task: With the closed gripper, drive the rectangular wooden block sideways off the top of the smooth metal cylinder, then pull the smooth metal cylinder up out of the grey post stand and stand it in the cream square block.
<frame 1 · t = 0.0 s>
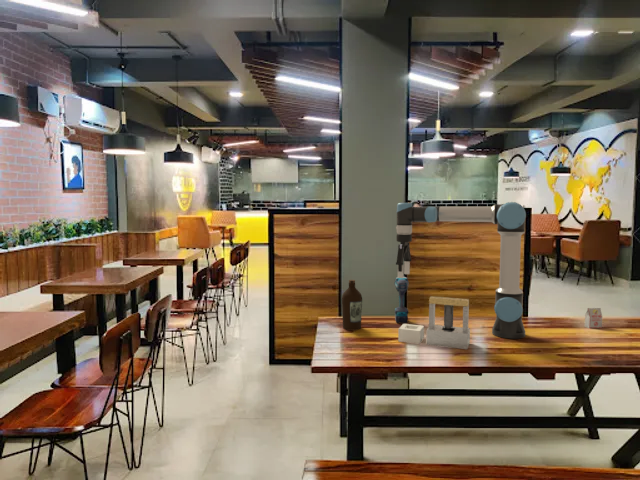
hand: (403, 276, 235), 28 cm above the table, tool pointing down, fingers open, 13 cm apart
olive oil: (351, 328, 243), on the table
rectangular wooden block: (448, 301, 214), point 20 cm above the table, slide at 0.0 cm
cream square block: (411, 339, 222), on the table
milk carton: (593, 327, 243), on the table
grey post stand: (448, 343, 215), on the table
impact wrench: (400, 321, 257), on the table
smooth metal cylinder: (448, 339, 215), point 2 cm above the table, touching grey post stand
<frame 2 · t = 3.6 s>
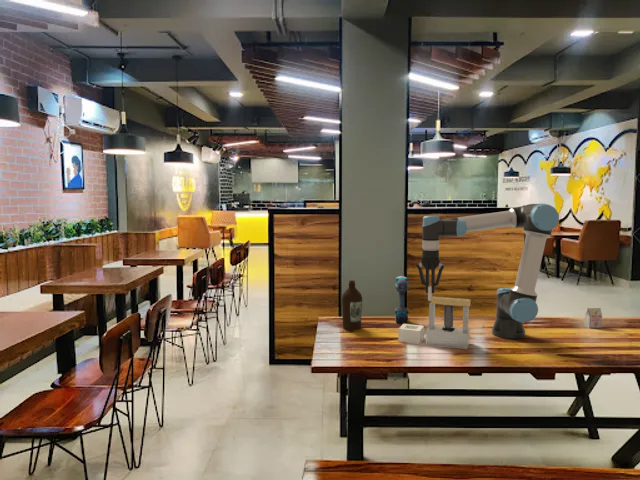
hand: (430, 300, 217), 20 cm above the table, tool pointing down, fingers closed
rectangular wooden block: (450, 301, 213), point 20 cm above the table, slide at 0.7 cm, touching gripper
everything else where it was.
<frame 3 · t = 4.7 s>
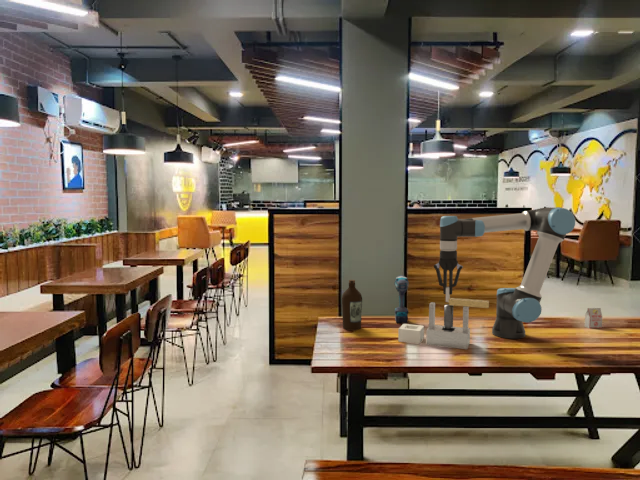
hand: (447, 301, 214), 20 cm above the table, tool pointing down, fingers closed
rectangular wooden block: (468, 302, 210), point 20 cm above the table, slide at 8.7 cm, touching gripper
everything else where it was.
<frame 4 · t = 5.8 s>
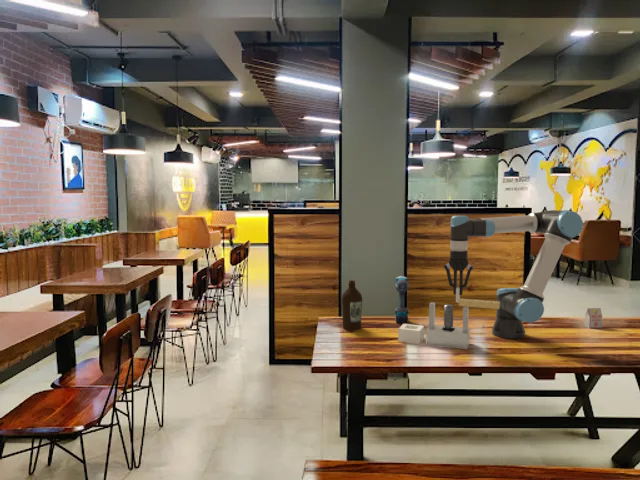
hand: (457, 301, 212), 20 cm above the table, tool pointing down, fingers closed
rectangular wooden block: (479, 303, 208), point 20 cm above the table, slide at 13.2 cm, touching gripper
everything else where it was.
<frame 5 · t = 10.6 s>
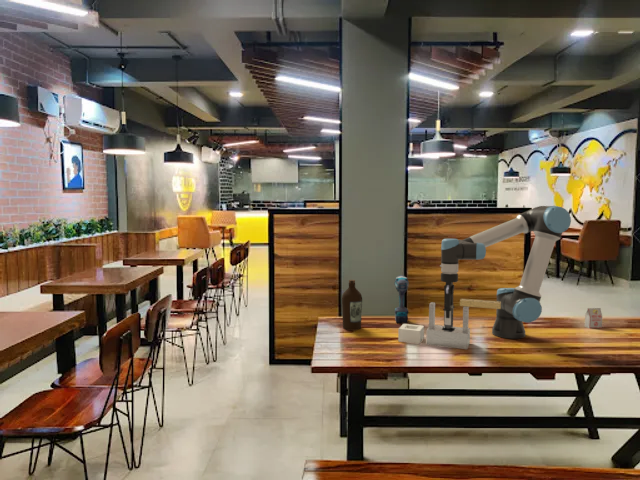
hand: (448, 323, 214), 10 cm above the table, tool pointing down, fingers closed on smooth metal cylinder, 4 cm apart
rectangular wooden block: (480, 303, 208), point 20 cm above the table, slide at 13.6 cm
smooth metal cylinder: (448, 339, 215), point 2 cm above the table, touching gripper, grey post stand
everything else where it was.
when the fingers open (12 cm above the table, at t = 19.0 s): smooth metal cylinder drops 2 cm, resting on cream square block.
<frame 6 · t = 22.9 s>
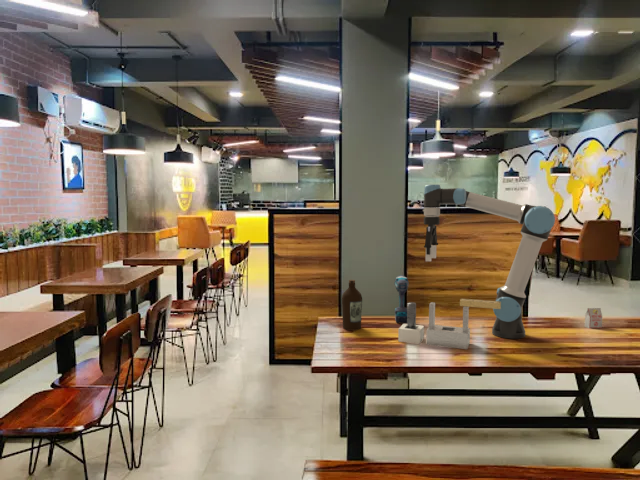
hand: (431, 259, 230), 37 cm above the table, tool pointing down, fingers open, 13 cm apart
smooth metal cylinder: (411, 336, 222), point 2 cm above the table, touching cream square block
everything else where it was.
at the end: rectangular wooden block slide at 13.6 cm; smooth metal cylinder 0.1 cm off-centre on the cream square block, point 1.5 cm above the cream square block's base; smooth metal cylinder tilted 0° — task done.
